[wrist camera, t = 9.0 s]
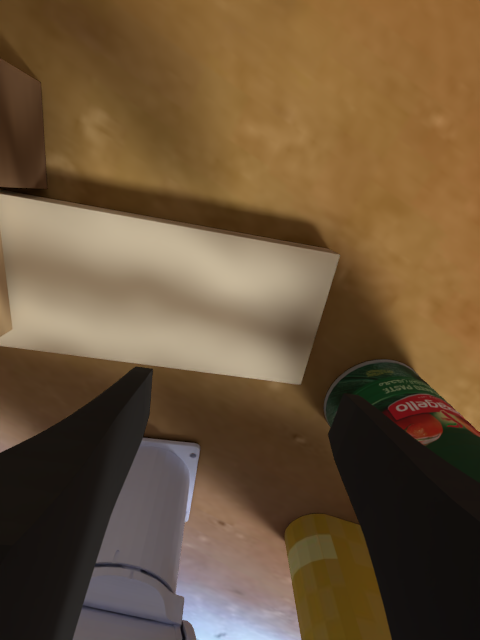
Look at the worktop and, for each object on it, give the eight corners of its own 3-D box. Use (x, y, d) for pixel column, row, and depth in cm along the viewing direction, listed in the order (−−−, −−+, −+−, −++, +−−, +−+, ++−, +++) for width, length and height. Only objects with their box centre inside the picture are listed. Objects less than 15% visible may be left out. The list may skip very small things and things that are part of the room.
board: (294, 368, 22) (300, 384, 20) (-87, 317, 20) (-119, 330, 18) (329, 248, 19) (340, 254, 17) (-126, 166, 16) (-171, 163, 14)
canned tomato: (331, 448, 26) (399, 614, 15) (315, 373, 22) (387, 519, 12) (424, 426, 25) (558, 584, 15) (420, 346, 22) (586, 476, 12)
